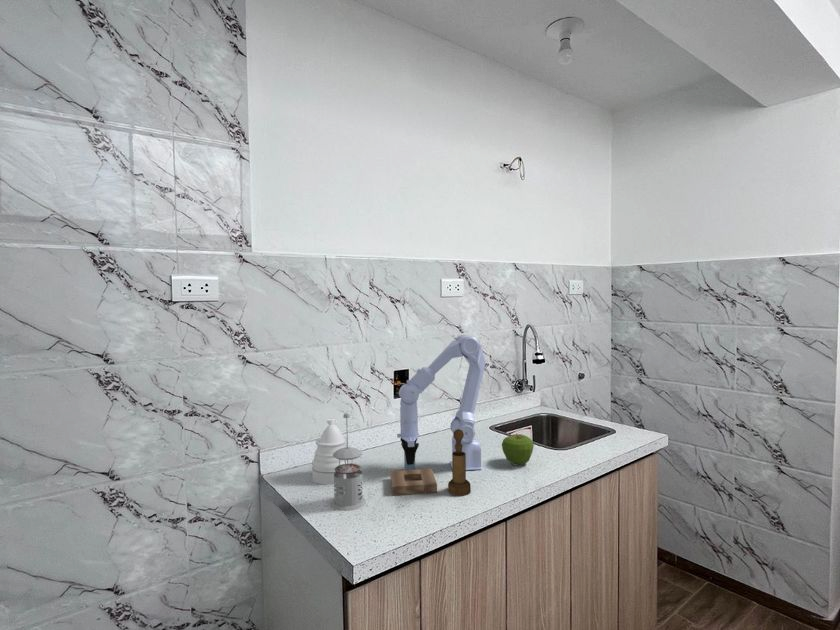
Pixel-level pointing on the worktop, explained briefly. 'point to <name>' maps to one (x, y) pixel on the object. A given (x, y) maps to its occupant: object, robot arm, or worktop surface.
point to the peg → (408, 467)
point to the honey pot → (328, 454)
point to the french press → (347, 479)
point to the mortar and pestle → (459, 469)
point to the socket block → (413, 482)
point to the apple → (517, 449)
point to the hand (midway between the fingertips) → (409, 461)
